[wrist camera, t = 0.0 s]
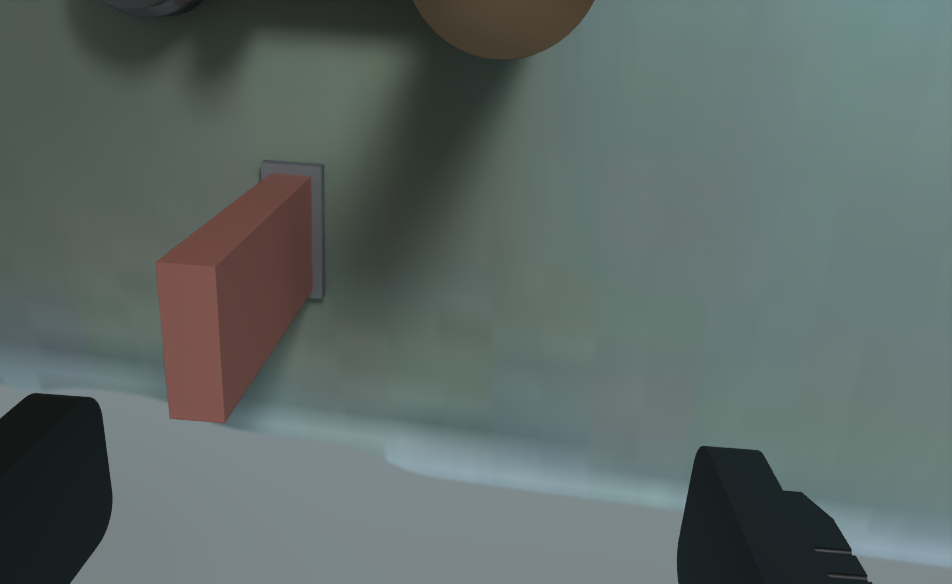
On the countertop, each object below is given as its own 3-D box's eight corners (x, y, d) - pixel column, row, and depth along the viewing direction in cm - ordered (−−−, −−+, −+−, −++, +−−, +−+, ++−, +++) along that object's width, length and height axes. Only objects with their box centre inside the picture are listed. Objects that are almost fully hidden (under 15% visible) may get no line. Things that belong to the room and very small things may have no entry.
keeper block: (264, 160, 39) (139, 246, 26) (323, 164, 39) (229, 253, 26) (268, 290, 41) (157, 429, 28) (324, 295, 41) (239, 435, 28)
